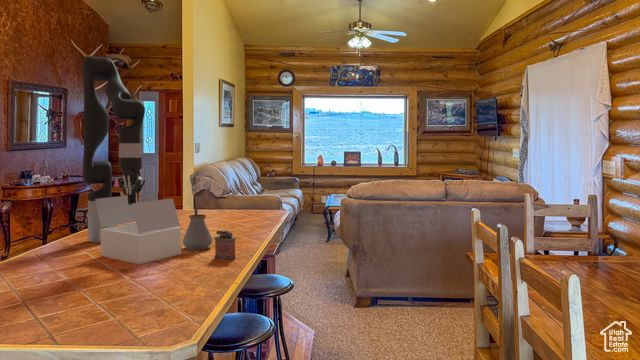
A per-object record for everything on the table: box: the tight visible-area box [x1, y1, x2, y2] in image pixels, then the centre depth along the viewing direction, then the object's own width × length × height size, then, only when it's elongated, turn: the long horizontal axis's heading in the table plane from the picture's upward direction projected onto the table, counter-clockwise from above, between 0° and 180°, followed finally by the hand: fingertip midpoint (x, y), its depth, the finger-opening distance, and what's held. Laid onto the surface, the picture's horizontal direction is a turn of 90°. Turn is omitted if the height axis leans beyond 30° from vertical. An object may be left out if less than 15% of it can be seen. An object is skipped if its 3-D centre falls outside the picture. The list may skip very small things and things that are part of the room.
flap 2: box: [132, 197, 180, 233], centre depth 169 cm, size 10×17×1 cm
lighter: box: [214, 229, 237, 260], centre depth 170 cm, size 8×3×10 cm, turn 71°
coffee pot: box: [182, 204, 214, 251], centre depth 191 cm, size 21×12×15 cm, turn 17°
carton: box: [100, 222, 182, 265], centre depth 175 cm, size 22×18×10 cm
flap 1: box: [95, 193, 139, 227], centre depth 180 cm, size 10×17×1 cm
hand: (132, 204), depth 170 cm, fingers closed
